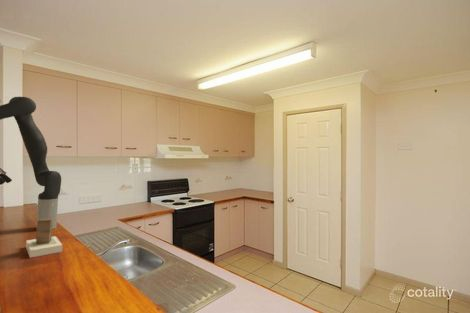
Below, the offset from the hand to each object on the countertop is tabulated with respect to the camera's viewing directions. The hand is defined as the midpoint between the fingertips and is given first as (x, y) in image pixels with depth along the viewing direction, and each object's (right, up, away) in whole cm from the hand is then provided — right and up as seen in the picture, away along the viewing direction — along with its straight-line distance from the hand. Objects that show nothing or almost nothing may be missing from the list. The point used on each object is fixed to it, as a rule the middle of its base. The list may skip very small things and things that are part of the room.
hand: (6, 182), depth 116 cm
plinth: (+21, -29, -5) cm, 36 cm away
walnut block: (+21, -26, -5) cm, 34 cm away
